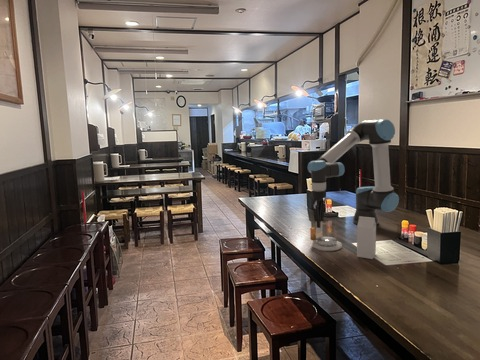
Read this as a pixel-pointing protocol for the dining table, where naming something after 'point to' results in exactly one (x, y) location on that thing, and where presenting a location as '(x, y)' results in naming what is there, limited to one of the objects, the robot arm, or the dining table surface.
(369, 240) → the milk carton
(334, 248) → the plate
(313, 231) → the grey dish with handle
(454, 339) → the dining table surface
